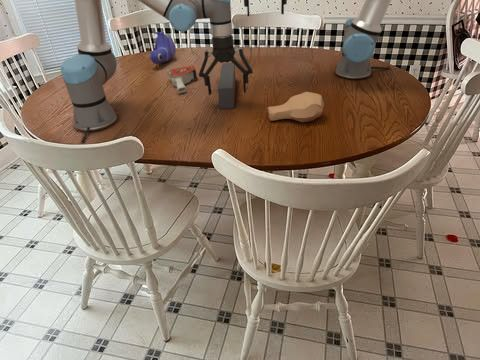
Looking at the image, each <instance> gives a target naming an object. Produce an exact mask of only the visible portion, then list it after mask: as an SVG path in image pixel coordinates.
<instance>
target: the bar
mask: <svg viewBox="0 0 480 360" xmlns="http://www.w3.org/2000/svg"><path fill="white" fill-rule="evenodd" d="M236 79H237V78H236V65H235V64H234V63H232V62H223V63H221V67H220V74H219V80H218V87H217V92H218V93H217V94H218V105H219V109H234V108H235V103H236V102H235V100H236V82H237V80H236Z"/></svg>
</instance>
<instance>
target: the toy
mask: <svg viewBox="0 0 480 360" xmlns="http://www.w3.org/2000/svg"><path fill="white" fill-rule="evenodd" d="M153 34H154V35H157V36H156V38H155V42H154V50H152V51H150V53H149V56H148V58H149V60H150V61H151V62H152V63H153V64H155V65H156V68H157V69H159V67H160V64H163V63H166V62H169V61H170V60H172V59H173V58H174V57H175V55H176V51H177V49H176V44H175V42H174V40H173V38H172V37H171V36H170V35H168V36H167V35H166V34H165V33H164V32H163V31H160V32H159V31H155V32H154V33H153Z"/></svg>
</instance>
